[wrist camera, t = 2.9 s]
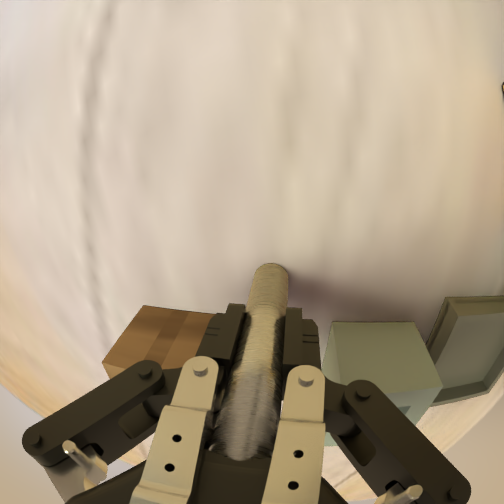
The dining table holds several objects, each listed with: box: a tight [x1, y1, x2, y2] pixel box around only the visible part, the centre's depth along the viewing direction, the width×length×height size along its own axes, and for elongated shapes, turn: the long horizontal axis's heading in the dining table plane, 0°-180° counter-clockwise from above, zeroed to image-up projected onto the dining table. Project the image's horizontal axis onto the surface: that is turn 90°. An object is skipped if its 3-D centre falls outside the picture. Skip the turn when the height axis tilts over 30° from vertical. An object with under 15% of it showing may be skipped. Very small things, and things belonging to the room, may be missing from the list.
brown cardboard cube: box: [102, 305, 216, 379], centre depth 17 cm, size 6×6×6 cm
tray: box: [426, 296, 504, 407], centre depth 16 cm, size 10×10×2 cm
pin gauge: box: [209, 263, 288, 461], centre depth 11 cm, size 2×2×12 cm
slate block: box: [322, 322, 443, 446], centre depth 15 cm, size 6×6×6 cm
